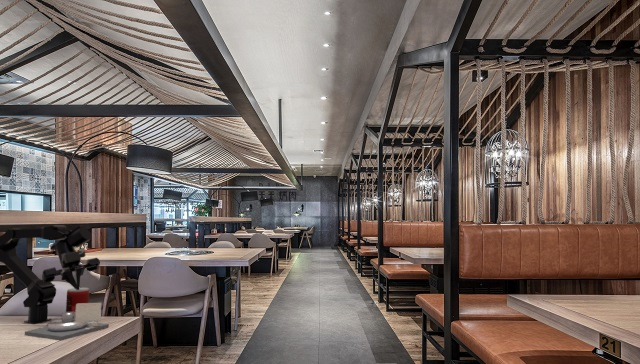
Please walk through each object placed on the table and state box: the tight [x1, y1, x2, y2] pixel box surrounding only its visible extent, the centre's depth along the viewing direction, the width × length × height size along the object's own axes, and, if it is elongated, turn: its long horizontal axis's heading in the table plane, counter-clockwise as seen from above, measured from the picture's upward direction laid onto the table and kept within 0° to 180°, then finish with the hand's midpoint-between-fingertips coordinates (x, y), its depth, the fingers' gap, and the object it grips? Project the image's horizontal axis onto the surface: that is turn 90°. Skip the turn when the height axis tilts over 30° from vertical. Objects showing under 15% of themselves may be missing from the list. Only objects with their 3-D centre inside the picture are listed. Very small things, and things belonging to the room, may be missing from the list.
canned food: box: [65, 287, 90, 316], centre depth 171 cm, size 8×8×11 cm
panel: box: [24, 321, 110, 341], centre depth 147 cm, size 18×18×1 cm
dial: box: [47, 302, 102, 331], centre depth 148 cm, size 16×12×8 cm
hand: (78, 289), depth 157 cm, fingers closed
